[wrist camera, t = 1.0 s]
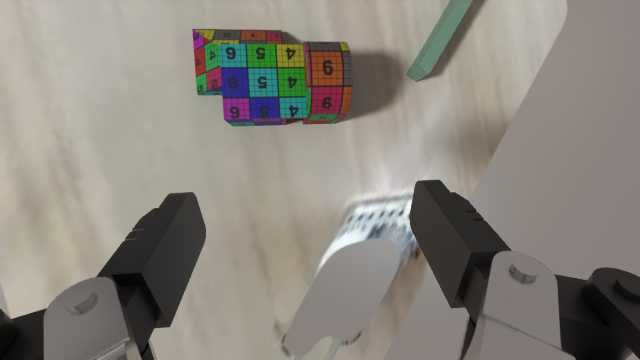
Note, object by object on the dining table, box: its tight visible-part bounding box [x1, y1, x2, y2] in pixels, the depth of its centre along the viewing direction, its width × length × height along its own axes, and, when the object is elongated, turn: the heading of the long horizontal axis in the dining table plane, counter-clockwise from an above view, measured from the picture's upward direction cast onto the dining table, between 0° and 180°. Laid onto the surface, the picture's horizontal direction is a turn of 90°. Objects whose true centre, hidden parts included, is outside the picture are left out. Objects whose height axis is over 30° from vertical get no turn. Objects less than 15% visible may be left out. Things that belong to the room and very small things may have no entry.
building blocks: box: [193, 29, 352, 126], centre depth 27 cm, size 15×10×8 cm
